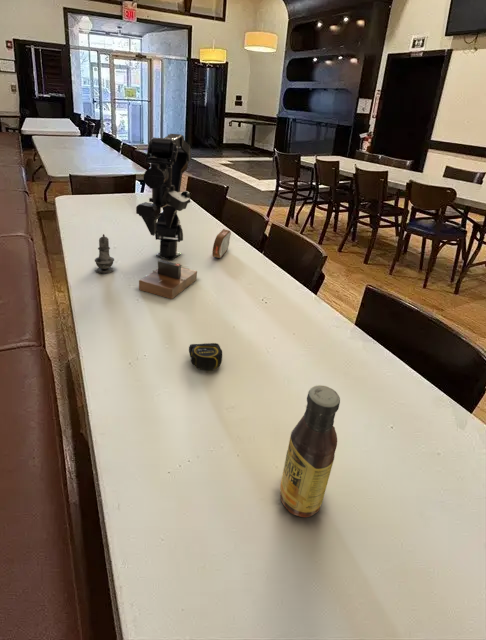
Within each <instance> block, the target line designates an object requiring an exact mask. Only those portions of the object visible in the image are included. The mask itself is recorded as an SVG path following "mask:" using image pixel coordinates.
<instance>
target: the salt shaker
mask: <svg viewBox="0 0 486 640" xmlns="http://www.w3.org/2000/svg"><path fill="white" fill-rule="evenodd" d="M109 242H110V241H109V238H108V237H107V236H106V235H105V234H104V233H103V234H102V236H101V237H99V240H98V244H99V245H98V247H97V250H98V256H97V257H95V259H94V263H95V265H96V266H97V268H96V269H95V272H96V273H98V274H102V275H106V274H111V273H113V272H114V268H113V267H112V266H113V264H114V261H115V258H114V257H112V256H111V254H110V249H111V247H110V243H109Z"/></svg>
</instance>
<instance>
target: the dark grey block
mask: <svg viewBox="0 0 486 640" xmlns="http://www.w3.org/2000/svg"><path fill="white" fill-rule="evenodd" d="M181 267H182V264H181V263H177V262H172V261H167V260H164V259H159V260H158V261H157V269H158V274H161V275H165V276H169V277H173V278H176V279H179V278H180V277H181Z"/></svg>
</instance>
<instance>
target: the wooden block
mask: <svg viewBox="0 0 486 640" xmlns="http://www.w3.org/2000/svg"><path fill="white" fill-rule="evenodd" d="M197 278H198V271H197V270H194V269H190V268H187V267H183V266H181V277H180V278H179V279H176V278H173V277H169V276H165V275H161V274H158V268H156V269H155V270H152V272H150V273H149V274H146V275H145V276H143V277H142V278H141V279H139V280H138V290H139V291H142V292H146V293H149V294H153V295H157V296H159V297H163V298H167V299H171V300H173V299H174V298H176V297H177V296H178V295H179V294H181V293H182V292H183V291H184V290H185V289H187V288H189V286H191V285H192V284H193V283H194V282H196V281H197Z"/></svg>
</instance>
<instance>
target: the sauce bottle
mask: <svg viewBox="0 0 486 640" xmlns="http://www.w3.org/2000/svg"><path fill="white" fill-rule="evenodd" d="M340 404H341V396H340V395H339V394H338V392H337V391H336V390H334V389H333V388H331V387H329V386H327V385H321V384H320V385H314V386H312V387H310V389H309V390H308V392H307V395H306V408H305V412H304V413H303V415H302V417H301V418H300V420H298V422H297V424H296V425H295V426H294V428H293V429H292V431H291V432H290V436H289V440H288V446H287V450H286V453H285V460H284V466H283V470H282V475H281V480H280V487H279V489H280V492H279V494H280V500H281V503H282V504H283V506H284V507H285V509H286V510H287V511H288V512H289V513H290V514H292V515H293V516H297V517H299V518H300V517H301V518H310V517H312V516H314V515H315V514H316V513H318V512H319V511H320V510H321V506H322V504H323V501H324V497H325V493H326V490H327V487H328V483H329V479H330V475H331V472H332V469H333V464H334V460H335V455H336V450H337V447H338V435H337V434H338V433H337V432H336V428H335V426H334V423H335V417H336V413H337V412H338V411H339V408H340Z"/></svg>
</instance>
